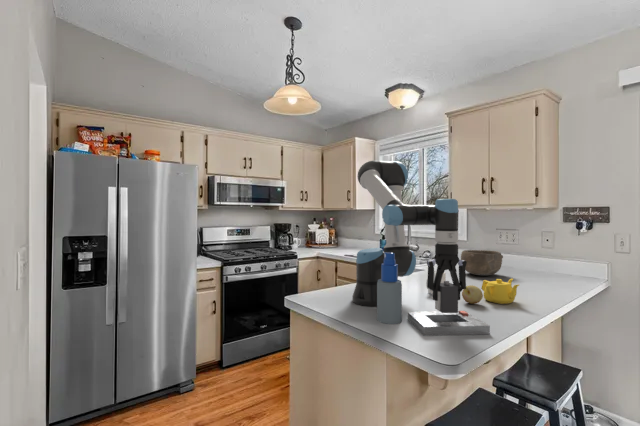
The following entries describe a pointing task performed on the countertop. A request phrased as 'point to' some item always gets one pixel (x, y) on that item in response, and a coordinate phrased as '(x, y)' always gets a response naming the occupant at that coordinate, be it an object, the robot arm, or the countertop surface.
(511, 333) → the countertop surface
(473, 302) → the fruit
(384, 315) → the spray bottle
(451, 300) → the plug
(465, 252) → the bowl
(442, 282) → the mug
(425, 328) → the socket plate
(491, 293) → the teapot
